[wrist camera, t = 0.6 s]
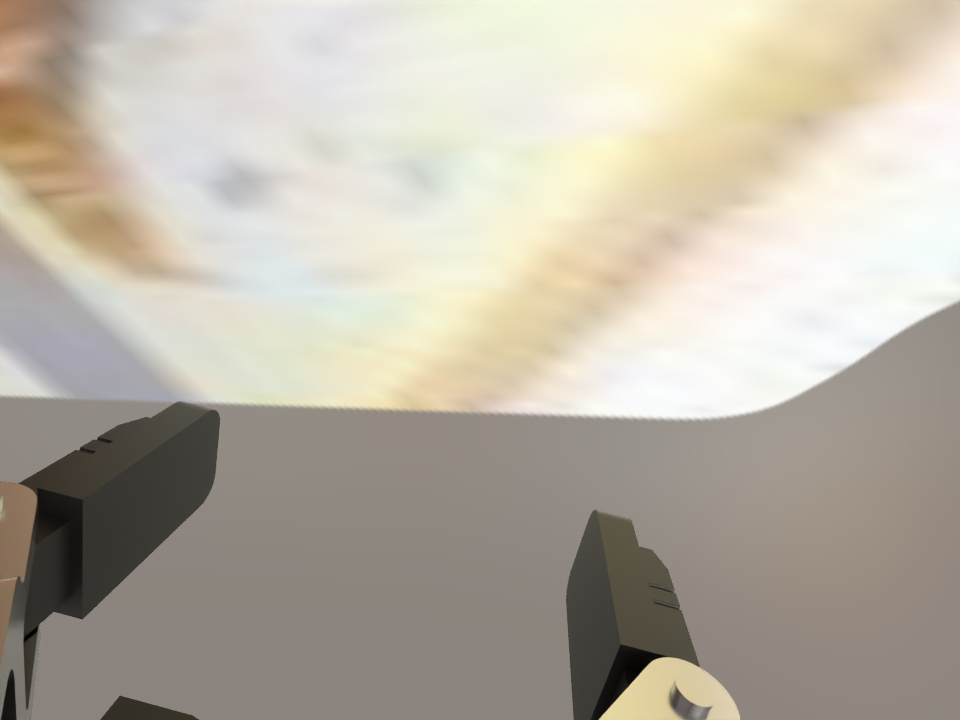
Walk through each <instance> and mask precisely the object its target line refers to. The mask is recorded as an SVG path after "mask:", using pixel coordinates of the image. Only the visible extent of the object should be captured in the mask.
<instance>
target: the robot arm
mask: <svg viewBox="0 0 960 720" xmlns="http://www.w3.org/2000/svg"><path fill="white" fill-rule="evenodd" d="M219 425H220V417H219V414H218V412H217V411H215V410H212V409H209V408H205V407H201V406H197V405H193V404H190V403H186V402H181V401H180V402H177V403H175V404H173V405H171V406H170V407H168V408H166V409H165V410H163V411H162V412H160V413H158V414H157V415H155V416H153V417H152V418H148V417H145V418H142V419H139V420H135V421H131V422H128V423H124V424H121V425H118V426H116V427H115V428H113V429H111V430H109V431H108V432H106V433H104V434H103V435H101V436H99V437H98V439H97V440H92V441H91V442H89V443H87V444H85V445H84V446H82V447H81V448H80V450H79V451H78V450H75V451H73V452H72V453H70V454H68V455H67V456H65V457H63V458H61V459H60V460H58V461H56V462H55V463H53V464H51V465H49V466H48V467H46V468H44V469H43V470H41V471H39V472H37V473H36V474H34V475H32V476H31V477H29V478H27V479H25V480H24V481H22V482H20V483H18V484H17V483H12V482H0V720H31V715H32V706H33V698H34V689H35V681H36V673H37V665H38V656H39V648H40V640H41V625H40V623H41V622H43V621H44V620H45V619H46V618H47V617H48V616H49V615H50V614H52V613H53V612H57V613H61V614H65V615H68V616H72V617H76V618H79V619H83V618H84V617H85V616H86V615H87V614H88V613H90V612H91V611H92V610H93V609H94V608H95V607H96V606H97V605H98V604H99V603H100V602H101V601H102V600H103V599H104V598H105V597H106V596H107V595H108V594H109V593H110V592H111V591H112V590H113V589H114V588H116V587H117V586H118V585H119V584H120V583H121V582H122V581H123V580H124V579H125V578H126V577H127V576H128V575H129V574H130V573H131V572H132V571H133V570H134V569H135V568H136V567H137V566H138V565H139V564H140V563H142V562H143V561H144V560H145V559H146V558H147V557H148V556H149V555H150V554H151V553H152V552H153V551H154V550H155V549H156V548H157V547H158V546H159V545H160V544H161V543H162V542H163V541H164V540H165V539H166V538H168V537H169V536H170V535H171V534H172V533H173V532H174V531H175V530H176V529H177V528H178V527H179V526H180V525H181V524H182V523H183V522H184V521H185V520H186V519H187V518H188V517H189V516H190V515H191V514H192V513H194V511H196V510H197V509H198V508H199V507H200V506H201V504H203V502H204V501H205V499H206V498H207V496H208V494H209V492H210V490H211V488H212V486H213V482H214V478H215V471H216V460H217V448H218V437H219ZM566 605H567V621H568V637H569V652H570V668H571V683H572V698H573V715H574V720H740V715H739V712H738V709H737V707H736V705H735V703H734V701H733V699H732V698H731V696H730V695H729V693H728V692H727V691H726V690H725V689H724V687H723V686H722V685H721V684H720V683H719V682H718V681H717V680H716V679H715V678H713V677H712V676H711V675H710V674H709V673H707V672H705V671H704V670H703V669H701V668H700V666H699V663H698V660H697V657H696V654H695V651H694V647H693V645H692V642H691V638H690V635H689V632H688V630H687V626H686V623H685V620H684V617H683V614H682V611H681V610H679V607H680V605H679V602H678V599H677V596H676V594H675V593H674V587H673V584H672V581H671V578H670V575H669V572H668V569H667V568H666V567H665V566H664V564H663V563H662V562H661V561H660V559H659V558H658V557H657V556H656V555H655V553H654V552H653V551H652V550H650V549H646V548H643V547H639V546H638V542H637V539H636V535H635V531H634V527H633V524H632V521H631V519H629V518H625V517H621V516H617V515H613V514H610V513H606V512H602V511H598V510H594V511H593V512H592V514H591V515H590V518H589V521H588V523H587V526H586V529H585V532H584V535H583V537H582V540H581V543H580V546H579V549H578V552H577V555H576V558H575V561H574V563H573V567H572V569H571V573H570V576H569V581H568V587H567V595H566ZM101 720H198V719H197V718H195V717H194V716H192V715H188V714H185V713H181V712H177V711H174V710H170V709H166V708H163V707H159V706H155V705H152V704H148V703H145V702H141V701H137V700H134V699H130V698H126V697H122V696H119V698H118V699H117V700H116V701H115V702H114V704H113V705H112V706H111V707H110V709H109V710H108V711H107V712H106V714H105V715H104V716H103V717H102V719H101Z"/></svg>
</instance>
